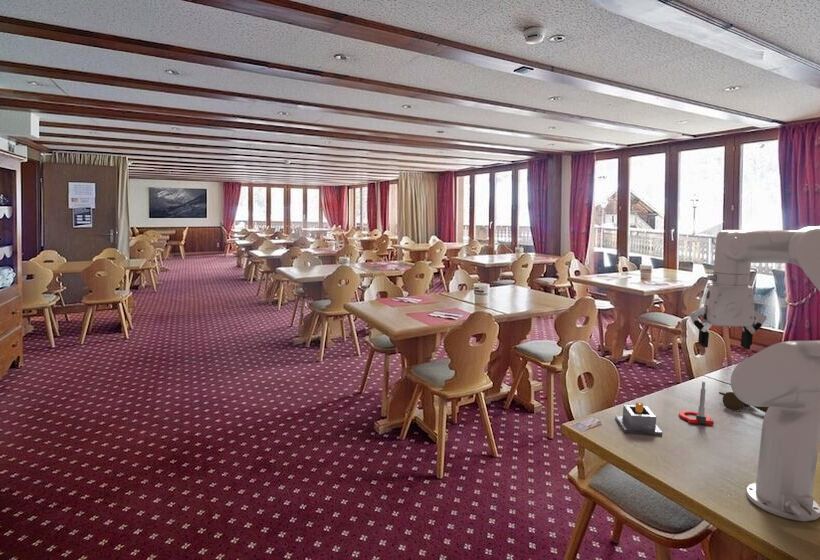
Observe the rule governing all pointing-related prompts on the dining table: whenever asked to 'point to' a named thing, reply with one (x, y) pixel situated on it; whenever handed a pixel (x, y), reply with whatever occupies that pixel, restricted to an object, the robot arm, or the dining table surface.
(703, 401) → the tow hook
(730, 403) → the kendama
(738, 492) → the dining table surface
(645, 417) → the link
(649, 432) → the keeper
